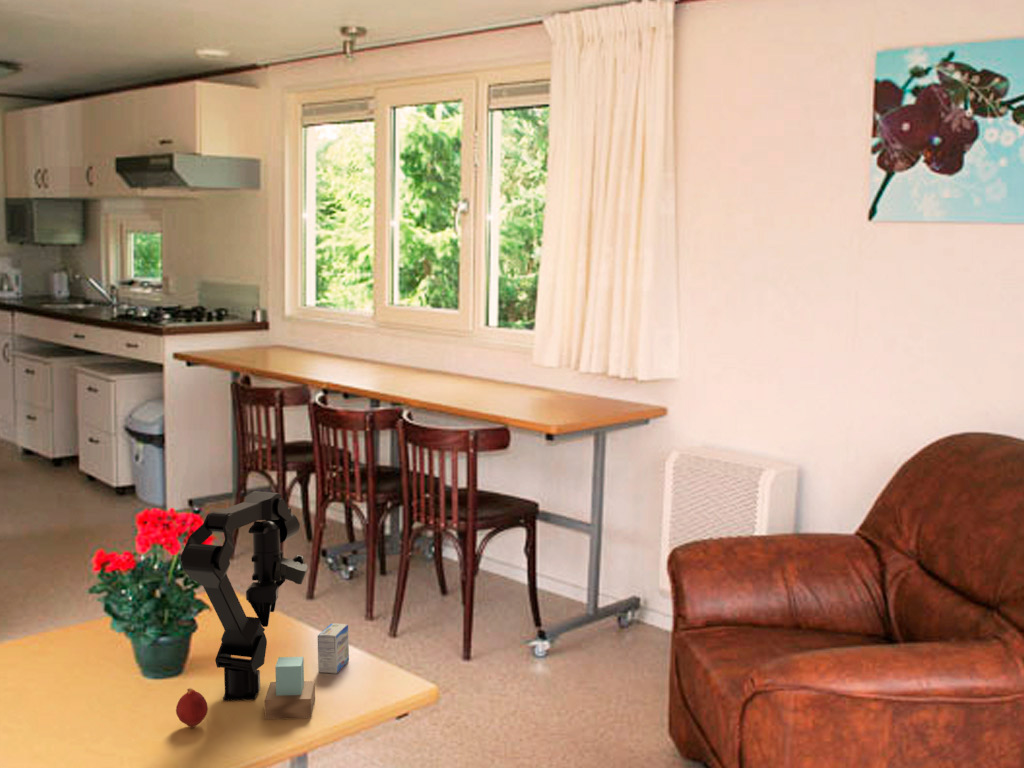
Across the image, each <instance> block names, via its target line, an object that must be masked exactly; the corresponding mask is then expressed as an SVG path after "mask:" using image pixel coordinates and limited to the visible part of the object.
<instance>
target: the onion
mask: <svg viewBox="0 0 1024 768" xmlns="http://www.w3.org/2000/svg"><path fill="white" fill-rule="evenodd" d="M208 709H209V705H208V702H207V700H206V698H205V697H204V695H203V694H201V693H200V692H199V691H196V689H193V688H192V687H189V688H187V689H186V692H185V693H184V694H183V695H182V696H181V697H180V698H179V699H178V702H177V705H176V709H175V713H176V716H177V717H178V719H179V721H180V722H181V723H183V724H184V725H186V726H188V727H189V728H195V727H196V726H199V724H200V723H202V722H203V720H205V718H206V716H207V714H208Z"/></svg>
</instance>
